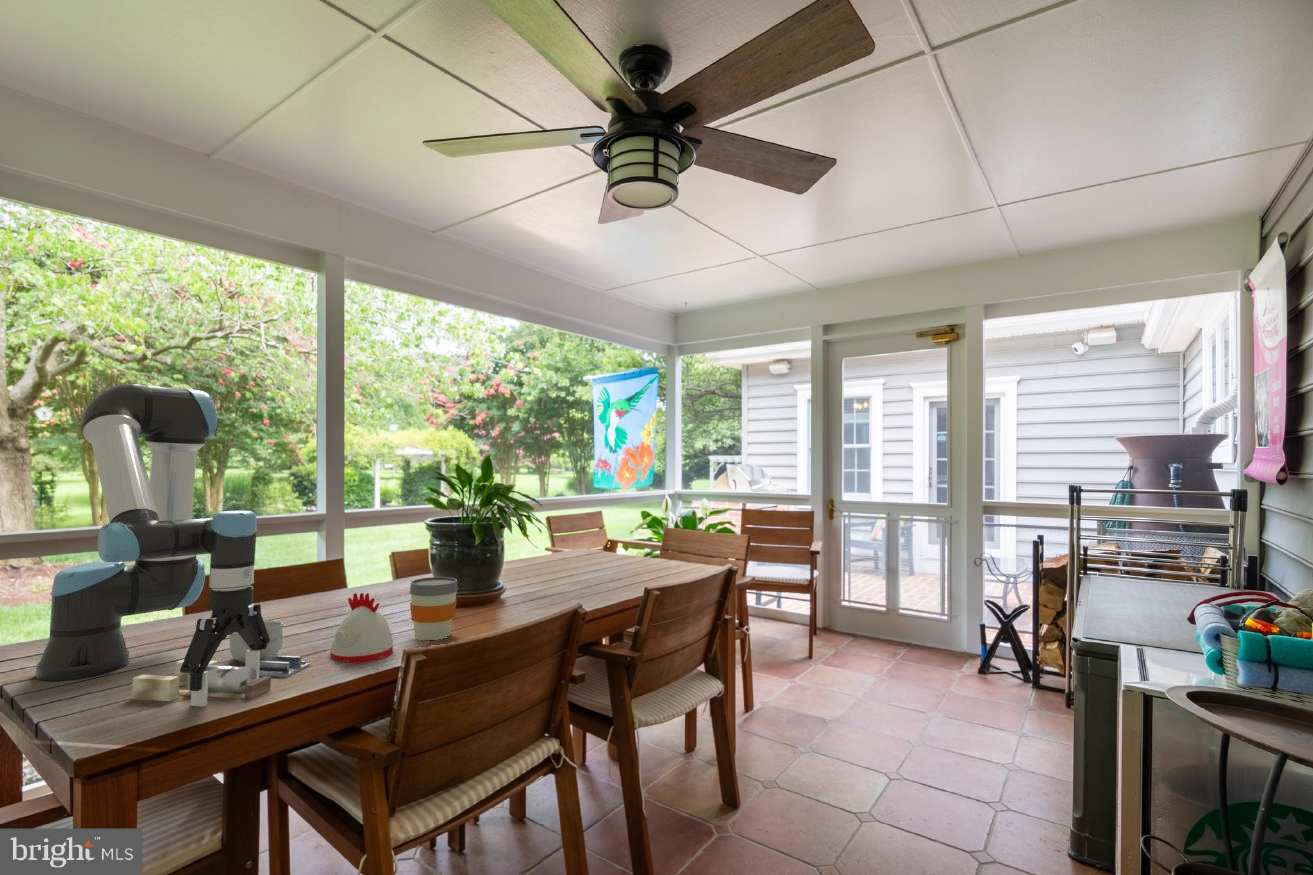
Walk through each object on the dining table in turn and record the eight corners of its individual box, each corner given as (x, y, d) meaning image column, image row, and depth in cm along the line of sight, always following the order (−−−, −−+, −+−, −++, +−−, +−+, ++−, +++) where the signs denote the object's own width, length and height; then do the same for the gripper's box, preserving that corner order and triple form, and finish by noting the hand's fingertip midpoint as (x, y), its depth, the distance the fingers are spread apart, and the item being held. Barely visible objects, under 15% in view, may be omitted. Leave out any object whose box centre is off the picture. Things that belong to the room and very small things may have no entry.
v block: (242, 677, 131) (243, 663, 132) (269, 665, 139) (269, 652, 139) (285, 679, 130) (286, 665, 131) (309, 667, 138) (310, 654, 139)
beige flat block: (131, 701, 118) (132, 678, 118) (182, 680, 129) (183, 659, 129) (239, 707, 116) (240, 683, 116) (281, 685, 127) (282, 664, 127)
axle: (184, 693, 120) (188, 667, 121) (205, 687, 125) (208, 662, 126) (236, 696, 119) (239, 670, 120) (254, 690, 124) (258, 664, 125)
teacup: (255, 669, 137) (256, 633, 137) (215, 665, 139) (217, 630, 139) (302, 650, 151) (304, 618, 151) (265, 647, 153) (267, 615, 153)
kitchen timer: (355, 644, 157) (358, 586, 158) (403, 647, 154) (406, 588, 155) (317, 661, 143) (319, 597, 144) (369, 665, 141) (371, 600, 141)
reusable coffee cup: (448, 627, 174) (450, 575, 174) (463, 638, 164) (464, 582, 164) (402, 634, 166) (404, 579, 167) (415, 645, 156) (417, 587, 157)
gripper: (197, 601, 110) (191, 719, 109) (291, 576, 135) (286, 672, 134) (159, 599, 111) (153, 717, 110) (259, 575, 136) (255, 671, 135)
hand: (226, 693), depth 122 cm, fingers open, 13 cm apart
